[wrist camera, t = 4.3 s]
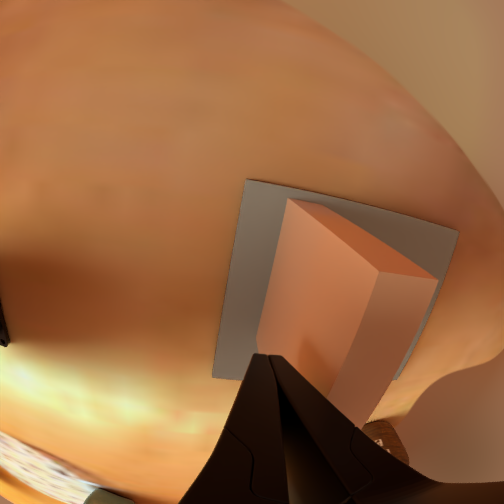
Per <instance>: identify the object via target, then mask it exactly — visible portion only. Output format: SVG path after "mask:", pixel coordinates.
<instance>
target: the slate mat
mask: <svg viewBox="0 0 504 504" xmlns="http://www.w3.org/2000/svg"><path fill="white" fill-rule="evenodd" d="M288 198H291V199H296V200H301V201H306V202H311V203H316V204H321V205H323V206H325V207H327V208H329V209H330V210H332V211H334V212H335V213H337V214H339V215H340V216H342V217H344V218H345V219H347V220H349V221H350V222H352V223H353V224H355V225H357V226H358V227H360V228H362V229H363V230H365V231H366V232H368V233H369V234H371V235H373V236H374V237H376V238H377V239H379V240H380V241H382V242H384V243H385V244H387V245H388V246H390V247H391V248H393V249H394V250H396V251H397V252H399V253H400V254H402V255H403V256H405V257H406V258H408V259H409V260H411V261H412V262H414V263H415V264H416V265H418V266H419V267H421V268H422V269H424V270H425V271H427V272H428V273H429V274H431V275H432V276H434V277H435V278H436V279H438V280H439V281H438V283H437V286H436V289H435V291H434V294H433V296H432V299H431V301H430V304H429V306H428V308H427V311H426V313H425V315H424V318H423V320H422V322H421V324H420V327H419V329H418V331H417V333H416V335H415V337H414V339H413V341H412V343H411V345H410V347H409V349H408V351H407V353H406V355H405V357H404V359H403V361H402V363H401V365H400V367H399V369H398V370H397V372H396V374H395V376H394V378H393V379H392V380H397V379H398V377H399V375H400V374H401V372H402V370H403V368H404V366H405V364H406V363H407V361H408V359H409V357H410V355H411V353H412V351H413V349H414V347H415V345H416V343H417V341H418V339H419V337H420V335H421V333H422V331H423V329H424V326H425V324H426V322H427V320H428V318H429V315H430V313H431V311H432V308H433V306H434V304H435V301H436V299H437V296H438V294H439V291H440V289H441V286H442V284H443V281H444V278H445V275H446V273H447V270H448V267H449V264H450V261H451V258H452V255H453V252H454V249H455V246H456V243H457V239H458V236H459V233H460V232H459V231H457V230H454V229H451V228H448V227H445V226H441V225H438V224H435V223H432V222H428V221H425V220H422V219H418V218H415V217H411V216H408V215H404V214H401V213H397V212H393V211H390V210H386V209H382V208H378V207H374V206H371V205H367V204H363V203H359V202H355V201H350V200H346V199H342V198H338V197H333V196H329V195H325V194H320V193H316V192H311V191H306V190H302V189H297V188H292V187H287V186H282V185H277V184H272V183H266V182H261V181H255V180H250V179H246V181H245V186H244V191H243V197H242V202H241V207H240V213H239V218H238V224H237V229H236V235H235V240H234V246H233V252H232V257H231V263H230V269H229V275H228V280H227V286H226V292H225V298H224V304H223V310H222V316H221V322H220V328H219V334H218V340H217V347H216V353H215V359H214V366H213V372H212V378H221V379H231V380H243V378H244V376H245V373H246V370H247V368H248V365H249V363H250V360H251V357H252V355H253V354H254V353H258V347H257V341H256V335H257V331H258V327H259V323H260V318H261V314H262V310H263V306H264V302H265V297H266V293H267V289H268V284H269V280H270V276H271V271H272V267H273V263H274V258H275V254H276V249H277V245H278V240H279V236H280V231H281V227H282V222H283V218H284V213H285V208H286V204H287V199H288Z"/></svg>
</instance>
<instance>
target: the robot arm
mask: <svg viewBox="0 0 504 504" xmlns="http://www.w3.org/2000/svg"><path fill="white" fill-rule="evenodd" d="M9 344H10V340H9V336H8V333H7V329H6V325H5V321H4V317H3V313H2V309H1V304H0V345H1V346H4V347H7V346H8V345H9ZM178 504H504V481H500V482H487V483H443V482H438V481H434V480H432V479H429V478H428V477H426V476H424V475H422V474H421V473H419V472H418V471H416V470H414V469H413V468H411V467H410V466H408V465H407V464H405V463H404V462H402V461H401V460H399V459H398V458H396V457H395V456H393V455H392V454H391V453H389V452H388V451H386V450H385V449H384V448H382V447H381V446H380V445H378V444H377V443H376V442H375V441H373V440H372V439H371V438H370V437H369V436H367V435H366V434H365V433H364V432H363V431H362V430H361V429H359V428H358V427H357V426H356V427H355V424H354V423H353V422H351V421H350V420H349V419H348V418H347V417H346V416H345V415H344V414H343V413H342V412H341V411H339V410H338V409H337V408H336V407H335V406H334V405H333V404H332V403H331V402H330V401H329V400H328V399H327V398H325V397H324V396H323V395H322V394H321V393H320V392H319V391H318V390H317V389H316V388H315V387H314V386H313V385H312V384H311V383H310V382H309V381H308V380H307V379H305V378H304V377H303V376H302V375H301V374H300V373H299V372H298V371H297V370H296V369H295V368H294V367H293V366H292V365H291V364H290V363H289V362H288V361H287V360H286V359H285V358H284V357H283V356H281V355H273V354H269V355H268V356H267V355H266V354H260V353H254V354H253V355H252V357H251V360H250V363H249V365H248V368H247V370H246V373H245V376H244V378H243V381H242V383H241V386H240V388H239V391H238V393H237V396H236V399H235V401H234V404H233V406H232V409H231V411H230V413H229V416H228V418H227V421H226V423H225V426H224V429H223V430H222V433H221V435H220V437H219V440H218V442H217V444H216V446H215V448H214V450H213V452H212V454H211V456H210V458H209V459H208V461H207V462H206V464H205V466H204V467H203V469H202V470H201V472H200V473H199V475H198V476H197V478H196V479H195V481H194V482H193V483H192V485H191V486H190V488H189V489H188V490H187V492H186V493H185V495H184V496H183V497H182V499H181V500H180V501H179V503H178Z"/></svg>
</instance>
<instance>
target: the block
mask: <svg viewBox="0 0 504 504" xmlns="http://www.w3.org/2000/svg"><path fill="white" fill-rule="evenodd" d="M438 281H439V280H438V279H436V278H435V277H434V276H432V275H431V274H429V273H428V272H427V271H425V270H424V269H422V268H421V267H419V266H418V265H416V264H415V263H414V262H412V261H411V260H409V259H408V258H406V257H405V256H403V255H402V254H400V253H399V252H397V251H396V250H394V249H393V248H391V247H390V246H388V245H387V244H385V243H384V242H382V241H380V240H379V239H377V238H376V237H374V236H373V235H371V234H369V233H368V232H366V231H365V230H363V229H362V228H360V227H358V226H357V225H355V224H353V223H352V222H350V221H349V220H347V219H345V218H344V217H342V216H340V215H339V214H337V213H335V212H334V211H332V210H330V209H329V208H327V207H325V206H323V205H321V204H316V203H311V202H306V201H301V200H296V199H291V198H288V199H287V204H286V208H285V213H284V218H283V222H282V227H281V231H280V236H279V240H278V245H277V249H276V254H275V258H274V263H273V267H272V271H271V276H270V280H269V284H268V289H267V293H266V297H265V302H264V306H263V310H262V314H261V318H260V323H259V327H258V331H257V335H256V341H257V347H258V353H260V354H266V355H267V356H268V355H269V354H273V355H281V356H283V357H284V358H285V359H286V360H287V361H288V362H289V363H290V364H291V365H292V366H293V367H294V368H295V369H296V370H297V371H298V372H299V373H300V374H301V375H302V376H303V377H304V378H305V379H307V380H308V381H309V382H310V383H311V384H312V385H313V386H314V387H315V388H316V389H317V390H318V391H319V392H320V393H321V394H322V395H323V396H324V397H325V398H327V399H328V400H329V401H330V402H331V403H332V404H333V405H334V406H335V407H336V408H337V409H338V410H339V411H341V412H342V413H343V414H344V415H345V416H346V417H347V418H348V419H349V420H350V421H351V422H353V423H354V424H355V427H356V426H357V427H358V428H359V429H362V427H363V426H364V425H365V423H366V422H367V420H368V419H369V417H370V416H371V414H372V412H373V411H374V409H375V408H376V406H377V405H378V403H379V401H380V400H381V398H382V396H383V395H384V393H385V391H386V390H387V388H388V386H389V385H390V383H391V381H392V379H393V378H394V376H395V374H396V372H397V370H398V369H399V367H400V365H401V363H402V361H403V359H404V357H405V355H406V353H407V351H408V349H409V347H410V345H411V343H412V341H413V339H414V337H415V335H416V333H417V331H418V329H419V327H420V324H421V322H422V320H423V318H424V315H425V313H426V311H427V308H428V306H429V304H430V301H431V299H432V296H433V294H434V291H435V289H436V286H437V283H438Z"/></svg>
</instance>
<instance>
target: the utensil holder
mask: <svg viewBox="0 0 504 504" xmlns="http://www.w3.org/2000/svg"><path fill="white" fill-rule="evenodd" d="M361 430H362V431H363V432H364V433H365V434H366V435H367V436H369V437H370V438H371V439H372V440H373V441H375V442H376V443H377V444H378V445H380V446H381V447H382V448H384V449H385V450H386V451H388V452H389V453H391V454H392V455H393V456H395V457H396V458H398V459H399V460H401V461H402V462H404V463H405V464H407V465H408V466H409V457H408V454H407V452H406V450H405V448H404V446H403V445H402V442H401V440H400V439H399V437H398V435H397V433H396V432H395V430H394V428H393V427H392V426H391V425H390V424H389V423H387V422H382V421H379V422H373V423H369V424H366V425H364V426H363V427H362V429H361Z"/></svg>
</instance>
